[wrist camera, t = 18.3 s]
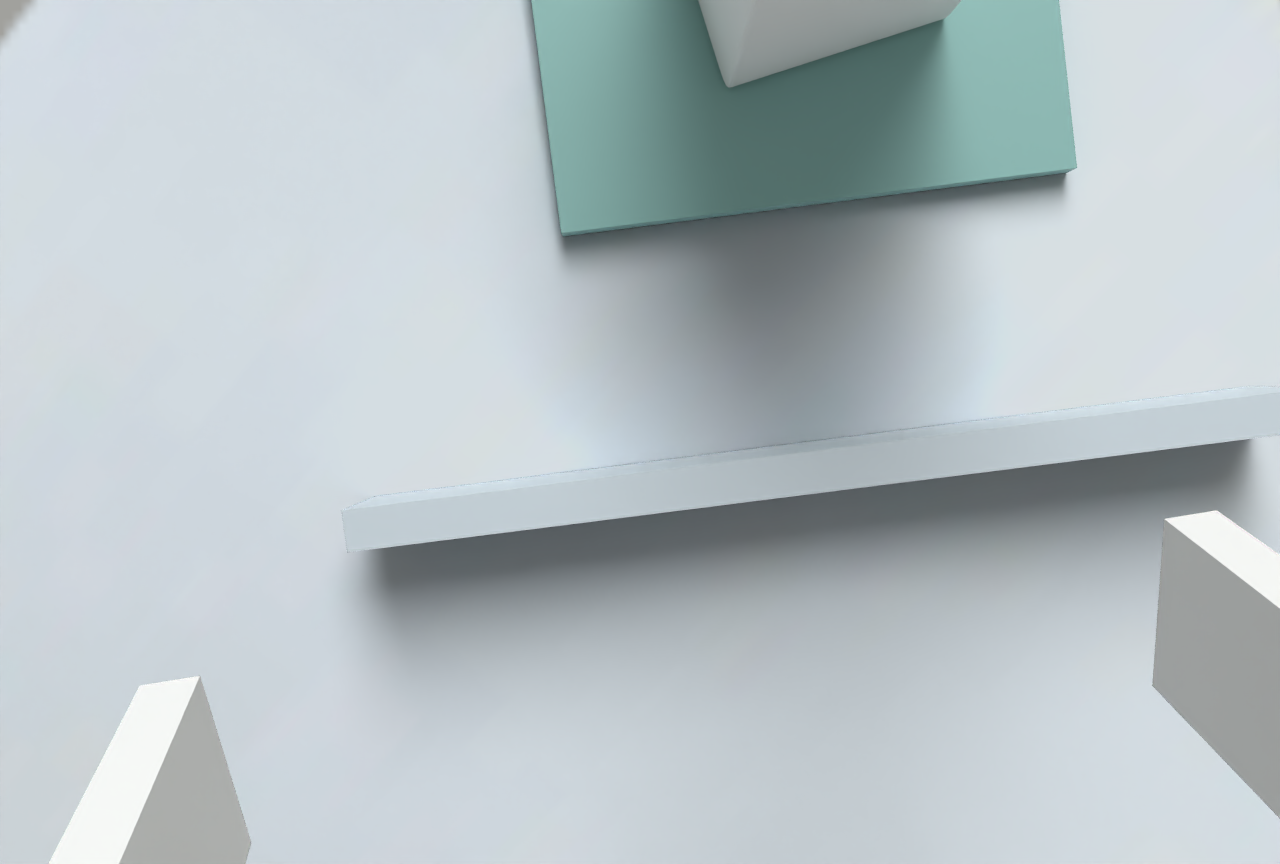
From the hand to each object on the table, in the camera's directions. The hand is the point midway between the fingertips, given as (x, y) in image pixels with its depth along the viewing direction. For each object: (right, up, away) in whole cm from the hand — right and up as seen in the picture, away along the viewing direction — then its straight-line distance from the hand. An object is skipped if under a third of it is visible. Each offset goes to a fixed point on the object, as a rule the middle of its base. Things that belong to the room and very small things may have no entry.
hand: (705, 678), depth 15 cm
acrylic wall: (+5, +3, +20) cm, 21 cm away
